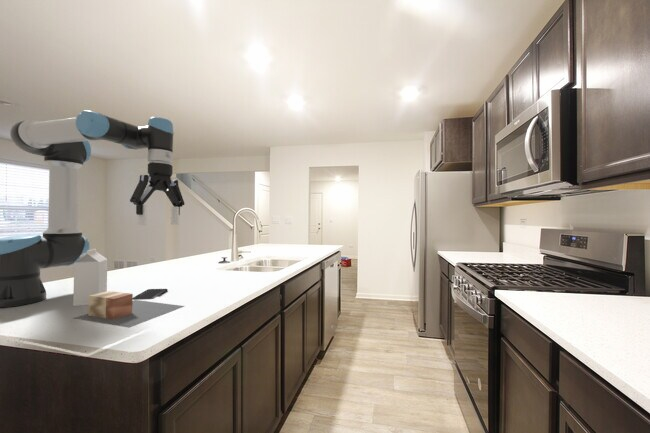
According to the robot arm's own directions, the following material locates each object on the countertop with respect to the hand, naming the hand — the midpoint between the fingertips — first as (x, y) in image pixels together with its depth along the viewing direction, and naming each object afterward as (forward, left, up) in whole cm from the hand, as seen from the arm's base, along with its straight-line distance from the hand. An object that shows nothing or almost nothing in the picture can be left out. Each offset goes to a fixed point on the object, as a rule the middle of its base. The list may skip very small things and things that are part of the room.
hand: (159, 224), depth 100 cm
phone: (-13, +9, -29) cm, 33 cm away
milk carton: (-23, -6, -28) cm, 37 cm away
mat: (0, -9, -28) cm, 30 cm away
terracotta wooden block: (-4, -13, -27) cm, 31 cm away
